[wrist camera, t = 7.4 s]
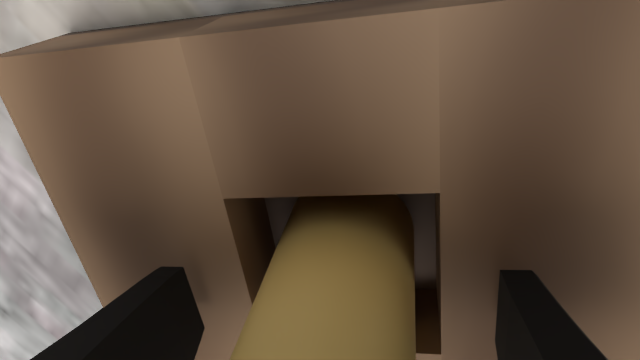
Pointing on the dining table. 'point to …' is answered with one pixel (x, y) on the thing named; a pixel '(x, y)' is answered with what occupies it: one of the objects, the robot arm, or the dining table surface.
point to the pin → (337, 284)
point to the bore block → (353, 151)
